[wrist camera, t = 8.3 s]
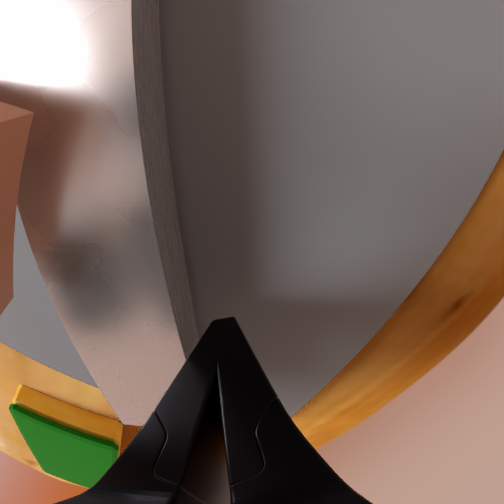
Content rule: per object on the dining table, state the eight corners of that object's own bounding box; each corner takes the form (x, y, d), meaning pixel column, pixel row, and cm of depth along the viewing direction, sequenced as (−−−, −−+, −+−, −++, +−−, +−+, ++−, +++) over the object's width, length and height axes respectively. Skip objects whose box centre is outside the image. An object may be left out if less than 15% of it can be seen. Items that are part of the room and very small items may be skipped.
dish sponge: (124, 416, 16) (118, 450, 14) (117, 474, 22) (114, 495, 20) (20, 377, 14) (6, 407, 12) (48, 451, 20) (43, 471, 18)
